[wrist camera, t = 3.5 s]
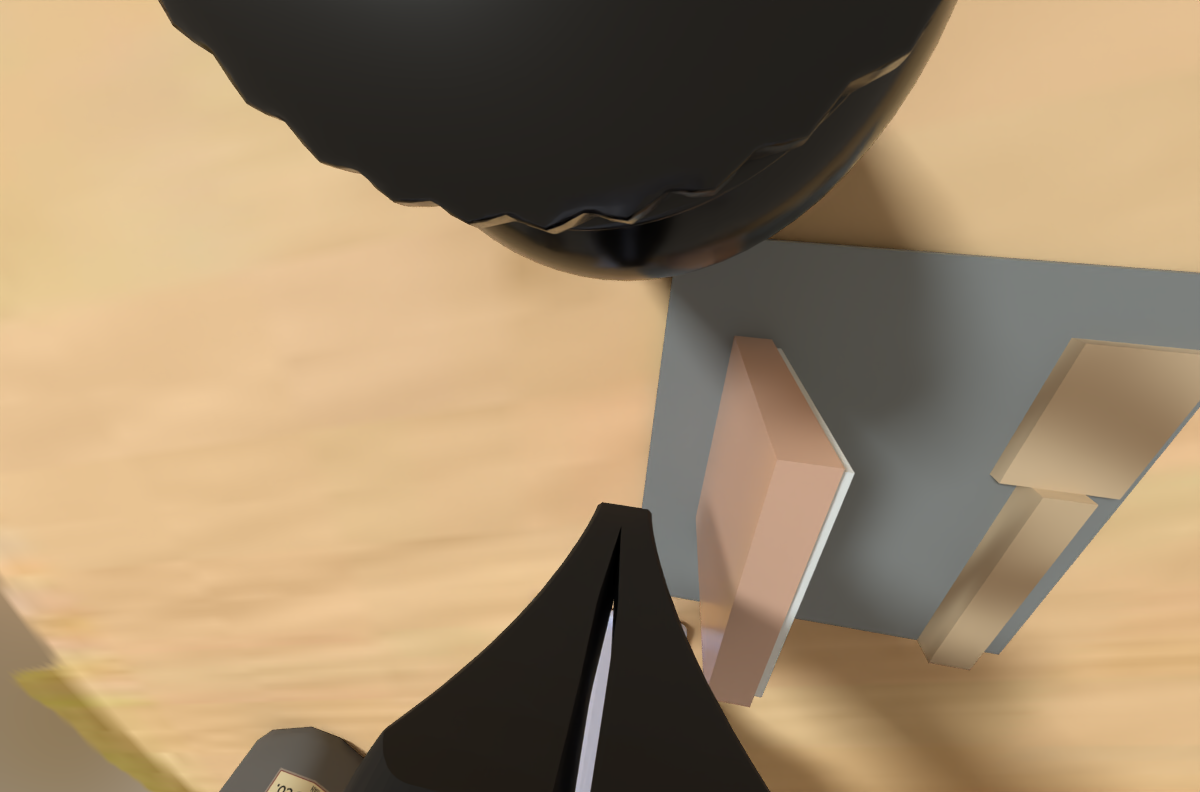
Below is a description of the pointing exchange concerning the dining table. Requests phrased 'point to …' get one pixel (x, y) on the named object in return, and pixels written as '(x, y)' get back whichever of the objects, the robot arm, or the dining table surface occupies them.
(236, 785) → the liquor
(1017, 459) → the turner
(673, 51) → the supplement bottle
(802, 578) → the tile
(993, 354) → the mat
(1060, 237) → the dining table surface
